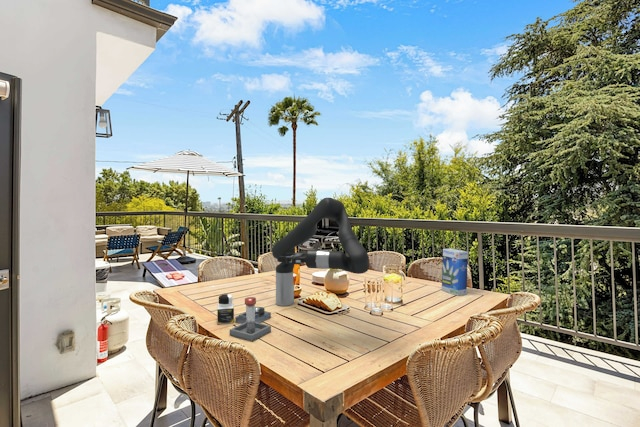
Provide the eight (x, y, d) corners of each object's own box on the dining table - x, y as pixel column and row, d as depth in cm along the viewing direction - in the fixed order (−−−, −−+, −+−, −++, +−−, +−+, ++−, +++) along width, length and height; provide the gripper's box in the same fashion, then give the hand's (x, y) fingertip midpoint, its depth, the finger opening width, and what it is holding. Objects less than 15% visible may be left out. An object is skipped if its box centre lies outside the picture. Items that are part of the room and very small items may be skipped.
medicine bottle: (217, 324, 155) (217, 297, 154) (217, 319, 162) (217, 293, 161) (233, 323, 157) (233, 296, 156) (233, 317, 164) (233, 292, 163)
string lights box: (441, 290, 214) (442, 248, 213) (450, 289, 217) (451, 248, 216) (457, 296, 202) (459, 251, 201) (467, 294, 205) (468, 251, 204)
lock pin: (250, 329, 148) (249, 296, 148) (258, 331, 146) (258, 298, 145) (242, 332, 144) (242, 299, 144) (251, 334, 142) (250, 300, 141)
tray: (249, 326, 153) (249, 320, 153) (270, 331, 147) (270, 325, 147) (229, 335, 143) (229, 329, 143) (252, 341, 137) (252, 335, 137)
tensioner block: (254, 313, 169) (254, 304, 169) (270, 317, 164) (270, 307, 164) (235, 322, 158) (235, 311, 158) (252, 326, 153) (252, 315, 153)
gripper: (323, 247, 147) (287, 245, 151) (314, 252, 133) (274, 250, 137) (323, 265, 147) (287, 263, 151) (314, 272, 134) (274, 269, 138)
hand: (281, 257), depth 144 cm, fingers open, 8 cm apart
